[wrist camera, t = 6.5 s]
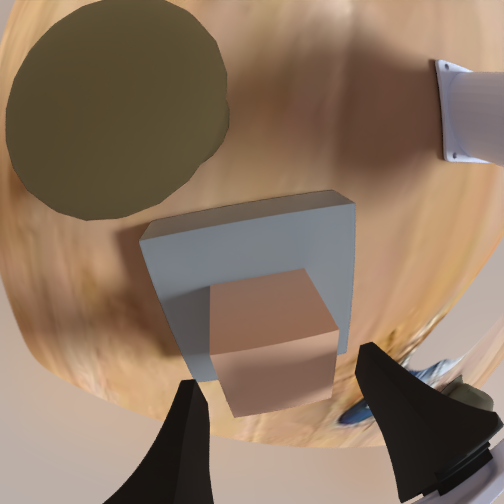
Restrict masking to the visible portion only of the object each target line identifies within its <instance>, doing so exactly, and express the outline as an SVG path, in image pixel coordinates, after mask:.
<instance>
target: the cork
mask: <svg viewBox="0 0 504 504" xmlns="http://www.w3.org/2000/svg"><path fill="white" fill-rule="evenodd" d="M226 87H227V72H226V69H225V66H224V63H223V60H222V57H221V54H220V51H219V48H218V45H217V42H216V41H215V39H214V38H213V37H212V36H211V35H210V34H209V32H208V31H207V30H206V29H205V28H204V27H203V26H202V25H201V23H200V22H199V21H198V20H197V19H196V18H195V17H194V16H193V15H192V14H191V13H189V12H188V11H187V10H185V9H183V8H180V7H178V6H176V5H174V4H172V3H170V2H167V1H165V0H101V1H98V2H95V3H91V4H88V5H85V6H82V7H80V8H79V9H77V10H75V11H74V12H72V13H71V14H69V15H67V16H66V17H64V18H63V19H61V20H60V21H58V22H57V23H55V24H54V25H53V26H52V27H51V28H50V29H49V30H48V31H47V32H46V33H45V34H44V35H43V36H42V37H41V38H40V39H39V40H38V42H37V43H36V44H35V45H34V46H33V47H32V48H31V50H30V51H29V53H28V55H27V56H26V58H25V60H24V61H23V63H22V65H21V67H20V69H19V71H18V72H17V74H16V76H15V78H14V81H13V85H12V88H11V92H10V95H9V99H8V103H7V107H6V143H7V147H8V151H9V155H10V158H11V162H12V165H13V168H14V170H15V171H16V173H17V175H18V176H19V178H20V179H21V181H22V182H23V184H24V185H25V187H26V188H27V190H28V191H29V192H30V193H31V194H33V195H34V196H35V197H37V198H38V199H39V200H41V201H42V202H43V203H45V204H46V205H47V206H48V207H50V208H52V209H53V210H55V211H57V212H59V213H62V214H65V215H69V216H72V217H75V218H79V219H82V220H86V221H88V220H104V219H118V218H123V217H127V216H129V215H132V214H134V213H137V212H139V211H142V210H144V209H147V208H149V207H152V206H154V205H157V204H160V203H161V202H162V201H163V200H164V199H166V198H167V197H168V196H169V195H171V194H172V193H173V192H174V191H176V190H177V189H178V188H180V187H181V186H182V185H183V184H185V183H186V182H187V181H189V180H190V178H191V177H192V175H193V174H194V172H195V171H196V170H197V168H198V167H199V165H200V164H202V163H203V162H204V161H206V160H207V159H209V158H210V157H211V156H213V154H214V153H215V152H216V150H217V149H218V148H219V147H220V145H221V144H222V143H223V141H224V138H225V135H226V132H227V130H228V127H229V107H228V104H227V100H226Z"/></svg>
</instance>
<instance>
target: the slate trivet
mask: <svg viewBox="0 0 504 504" xmlns="http://www.w3.org/2000/svg"><path fill="white" fill-rule="evenodd" d="M355 233H356V203H354V202H353V201H351V200H349V199H348V198H346V197H344V196H343V195H341V194H339V193H338V192H336V191H334V190H329V191H321V192H313V193H306V194H299V195H292V196H285V197H279V198H272V199H266V200H260V201H254V202H248V203H242V204H236V205H231V206H225V207H220V208H214V209H209V210H204V211H198V212H193V213H188V214H183V215H179V216H174V217H169V218H164V219H160V220H155V221H151V223H150V224H149V226H148V227H147V229H146V230H145V232H144V233H143V235H142V236H141V238H140V240H139V244H140V247H141V250H142V254H143V257H144V260H145V263H146V265H147V268H148V271H149V274H150V277H151V280H152V283H153V285H154V288H155V291H156V293H157V296H158V299H159V301H160V304H161V306H162V309H163V311H164V314H165V316H166V319H167V321H168V324H169V326H170V328H171V331H172V333H173V336H174V338H175V340H176V342H177V345H178V347H179V349H180V351H181V354H182V356H183V358H184V360H185V362H186V364H187V367H188V369H189V371H190V373H191V375H192V377H193V379H196V381H197V382H205V381H213V380H219V379H218V377H217V374H216V371H215V369H214V366H213V363H212V361H211V358H210V285H214V284H220V283H225V282H231V281H237V280H243V279H248V278H254V277H259V276H265V275H270V274H275V273H281V272H286V271H291V270H297V269H302V268H304V269H305V270H306V272H307V274H308V275H309V277H310V279H311V281H312V282H313V284H314V286H315V287H316V289H317V291H318V293H319V294H320V296H321V298H322V300H323V301H324V303H325V305H326V307H327V308H328V310H329V312H330V314H331V315H332V317H333V319H334V321H335V323H336V324H337V326H338V328H339V339H338V349H337V355H340V354H344V353H346V351H347V343H348V335H349V327H350V317H351V307H352V296H353V282H354V264H355Z"/></svg>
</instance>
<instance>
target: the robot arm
mask: <svg viewBox="0 0 504 504" xmlns="http://www.w3.org/2000/svg"><path fill="white" fill-rule="evenodd" d="M435 66H436V71H437V77H438V84H439V92H440V100H441V110H442V123H443V150H444V159H445V160H446V161H449V162H474V163H493V164H496V165H499V166H502V167H504V72H474V71H471V70H469V69H466V68H464V67H461V66H459V65H456V64H453V63H450V62H447V61H444V60H441V59H438V60H436V61H435ZM445 67H446V68H445ZM355 375H356V378H357V381H358V384H359V387H360V389H361V392H362V394H363V396H364V398H365V400H366V402H367V404H368V406H369V408H370V410H371V412H372V414H373V416H374V418H375V419H376V421H377V423H378V425H379V427H380V430H381V432H382V434H383V437H384V440H385V443H386V446H387V449H388V452H389V455H390V459H391V462H392V466H393V470H394V474H395V479H396V484H397V489H398V496H399V499H400V502H401V503H404V502H406V501H408V500H410V499H412V498H414V497H416V496H418V495H419V494H421V493H422V494H423V496H424V497H423V498H421V499H419V500H417V501H416V502H414V503H412V504H491V503H492V502H493V501H494V500H495V499H496V498H497V497H498V496H499V495H500V493H501V492H502V491H503V490H504V439H503V440H501V441H500V442H499V443H498V444H497V445H496V446H495V447H494V448H493V449H491V450H490V451H489V449H488V447H490V443H489V442H488V441H489V440H490V439H491V438H492V437H493V436H494V435H495V434H496V433H497V432H498V431H499V430H500V429H501V428H502V427H503V425H504V424H503V422H502V421H501V419H500V418H499V416H498V415H497V413H496V412H493V411H488V410H484V409H480V408H476V407H473V406H470V405H467V404H464V403H462V402H460V401H457V400H455V399H453V398H450V397H448V396H446V395H444V394H442V393H440V392H439V391H437V390H435V389H433V388H432V387H430V386H428V385H427V384H425V383H424V382H422V381H421V380H419V379H418V378H417V377H415V376H414V375H412V374H411V373H410V372H408V371H407V370H406V369H405V368H403V367H402V366H401V365H399V364H398V363H397V362H396V361H395V360H393V359H392V358H391V357H390V356H389V355H387V354H386V353H385V352H384V351H383V350H382V349H380V348H379V347H378V346H377V345H376V344H375V343H373V342H369V343H366V344H363V345H360V349H359V354H358V359H357V364H356V369H355ZM209 439H210V421H209V410H208V403H207V401H206V399H205V397H204V395H203V393H202V391H201V389H200V387H199V385H198V383H197V381H196V379H191V380H182V381H181V382H180V384H179V387H178V390H177V393H176V395H175V398H174V401H173V403H172V405H171V408H170V410H169V412H168V415H167V417H166V419H165V421H164V424H163V426H162V428H161V429H160V431H159V434H158V435H157V437H156V440H155V441H154V443H153V445H152V446H151V448H150V450H149V451H148V453H147V454H146V456H145V457H144V459H143V460H142V462H141V463H140V464H139V466H138V467H137V469H136V470H135V471H134V473H133V474H132V475H131V476H130V477H129V478H128V480H127V481H126V482H125V483H124V484H123V485H122V486H121V487H120V488H119V489H118V490H117V491H116V492H115V493H114V494H113V495H112V496H111V497H110V498H109V499H107V500H106V501H105V502H104V503H103V504H214V502H213V495H212V489H211V481H210V472H209V441H210V440H209Z"/></svg>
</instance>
